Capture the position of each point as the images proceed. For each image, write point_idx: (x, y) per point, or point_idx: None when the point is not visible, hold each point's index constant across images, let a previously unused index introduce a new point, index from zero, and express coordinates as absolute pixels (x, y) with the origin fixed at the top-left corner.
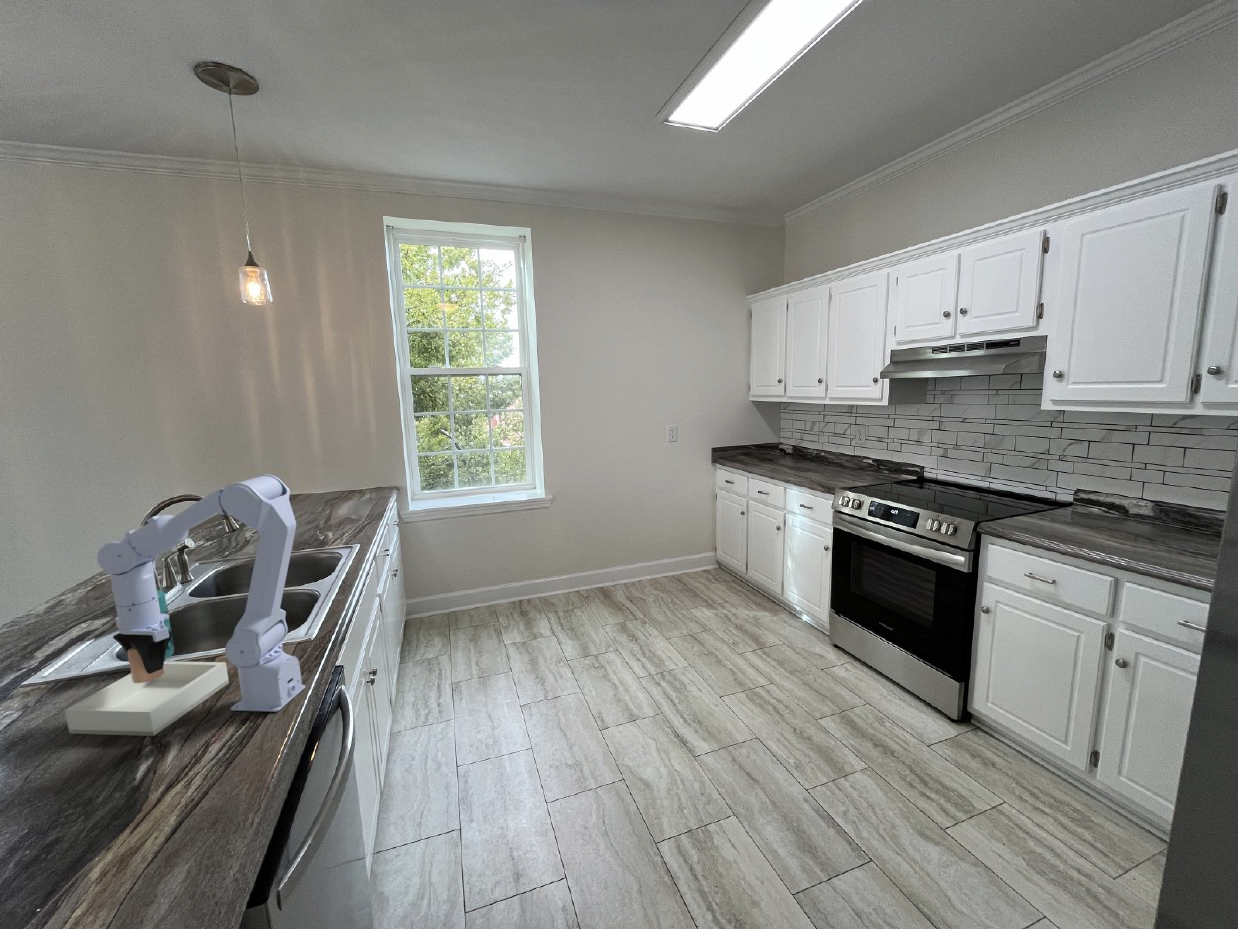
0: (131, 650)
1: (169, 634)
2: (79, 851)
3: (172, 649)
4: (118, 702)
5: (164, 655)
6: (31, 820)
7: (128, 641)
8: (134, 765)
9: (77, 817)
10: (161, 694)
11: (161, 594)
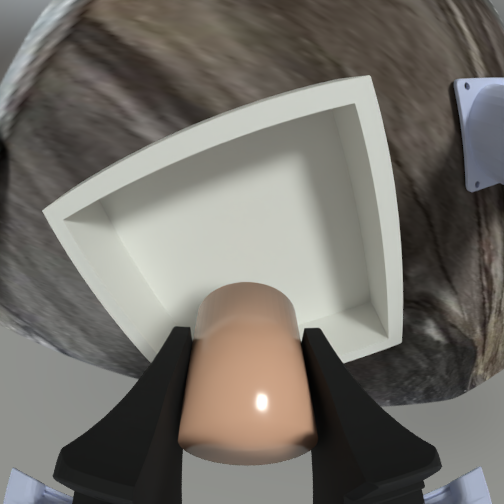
0: (230, 460)
1: (438, 469)
2: (456, 378)
3: None
4: (151, 289)
5: (348, 373)
6: (378, 399)
7: (177, 483)
8: (415, 336)
9: (423, 379)
10: (212, 223)
11: None
